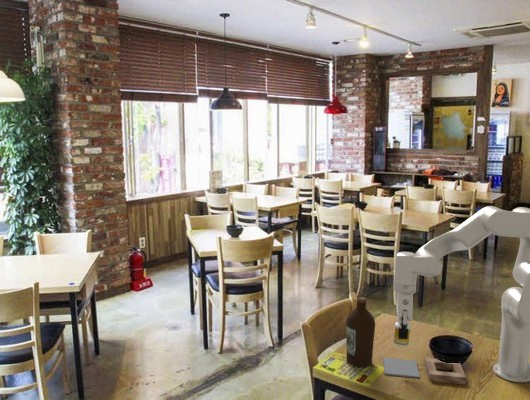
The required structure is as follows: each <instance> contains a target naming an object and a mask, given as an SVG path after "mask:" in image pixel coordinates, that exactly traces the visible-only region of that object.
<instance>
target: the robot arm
mask: <svg viewBox="0 0 530 400" xmlns="http://www.w3.org/2000/svg"><path fill="white" fill-rule="evenodd" d="M492 234H493V235H495V236H498V237H509V238H519V248H518V251H517V254H516V259H515V262H514V266H513V269H512V277H513V280H514V281H515V282H516V283H517V284H519V285H520V286H521V287H520V286H512V287H509V288H507V289H506V290H505V291H504V292H503V294H502V295H501V301H500V304H501V305H500V306H501V328H500V338H499V339H500V340H499V352H498V354H499V355H498V362H497V363H494V365H493V366H492V371H493V372H494V374H495V375H497V376H498V377H500V378H502V379H503V380H506V381H510V382H514V383H529V382H530V208H528V207H524V206H523V207H522V206H519V207H516V208H514V209H512V210H505V209H502V208H499V207H496V206H495V205H494V206H493V205H487V206H485V207H483V208H481V209H479V210H478V211H476V212H475V213H474V214H473V215H471V216H470V217H468V218H467V219H466V220H465V221H463V222H462V223H460V224H459V225H458V226H455V228H454V229H452V230H449V231H447V232H445V233H442V234H440V235H438V236H436V237H434V238H432V239H431V240H429V241H428V242H427V243H426V244H424V245H422V246H421V247H420V248H418V250H417V251H416V252H415V253H414V252H411V251H400V252H396V255H395V262H394V263H395V264H394V277H393V278H394V280H393V291H394V292H396V305H395V306H396V315H397V319H399V320H400V327H399V332H398V338H399V339H408V324H409V323H408V319H409V322H412V321H413V313H414V309H413V308H414V297H413V296H414V294H416V292H417V278H418V277H417V276H423V277H428V278H432V277H437V276H439V275H440V274H441V273H442V271H443V264H442V261H441V260H440V259H441V258H442V257H444V256H446V255H448V254H450V253H453V252H456V251H457V252H458V251H468V250H471V249H472V248H474V247H475V246H476V245H478V244H479V243H481V242H482V241H484V239H486V238H487V237H489V236H490V235H492ZM401 318H403V319H401ZM402 321H403V323H402ZM396 322H398V321H397V320H396ZM401 323H402V324H401Z"/></svg>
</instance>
